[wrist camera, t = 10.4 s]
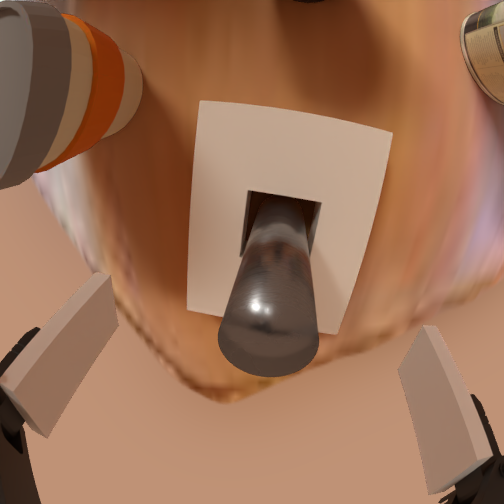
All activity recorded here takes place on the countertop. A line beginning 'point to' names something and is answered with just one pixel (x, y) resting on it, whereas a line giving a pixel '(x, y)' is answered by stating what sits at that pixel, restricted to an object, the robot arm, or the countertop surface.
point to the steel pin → (272, 296)
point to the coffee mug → (309, 1)
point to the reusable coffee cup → (58, 88)
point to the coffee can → (485, 49)
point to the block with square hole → (287, 184)
